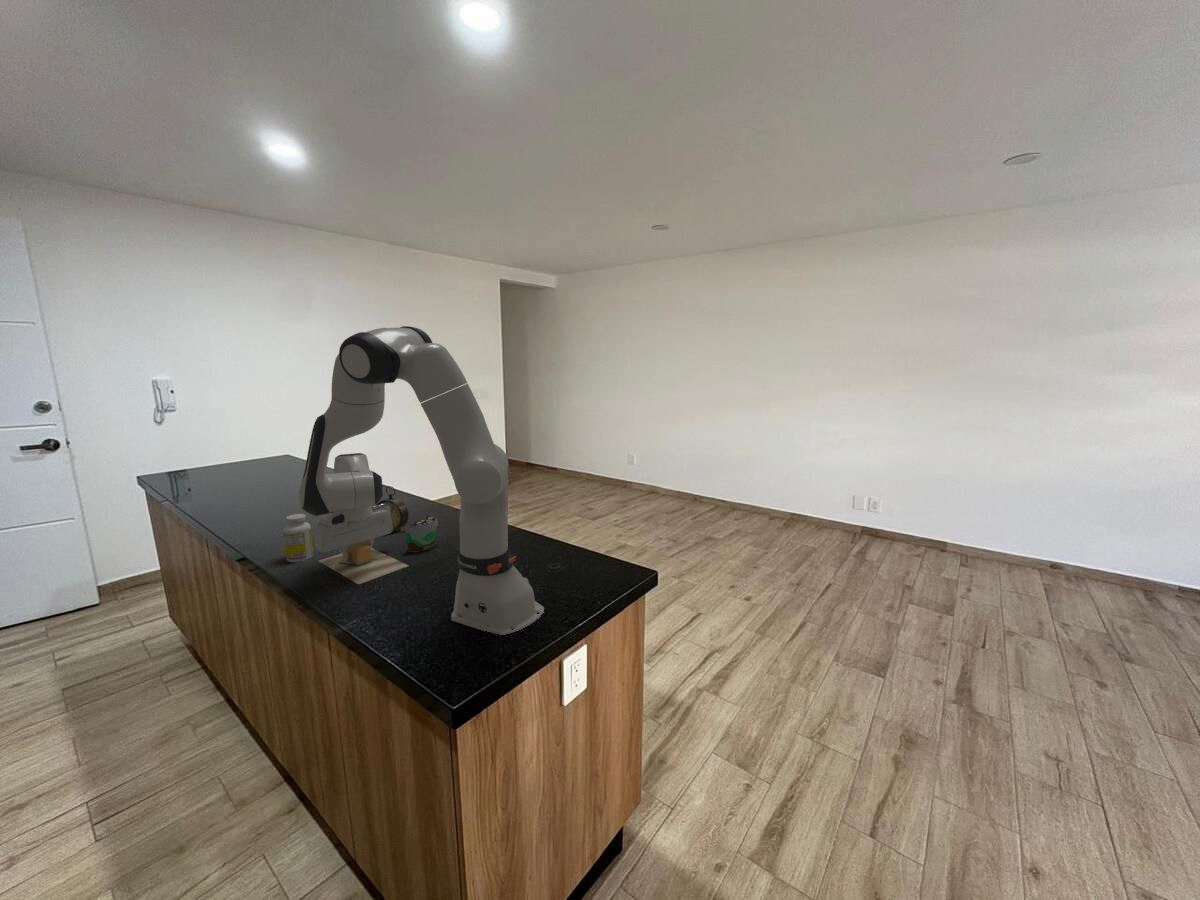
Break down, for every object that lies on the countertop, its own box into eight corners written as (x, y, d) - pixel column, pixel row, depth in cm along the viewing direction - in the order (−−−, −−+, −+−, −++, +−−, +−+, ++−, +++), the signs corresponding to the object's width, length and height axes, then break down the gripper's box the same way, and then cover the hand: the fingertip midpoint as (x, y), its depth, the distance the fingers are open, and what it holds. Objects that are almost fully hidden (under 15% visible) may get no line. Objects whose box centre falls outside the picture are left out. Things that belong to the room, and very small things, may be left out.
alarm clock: (373, 533, 152) (370, 486, 149) (384, 527, 157) (382, 482, 154) (401, 537, 150) (399, 490, 147) (412, 531, 155) (410, 485, 152)
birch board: (409, 570, 126) (409, 565, 126) (359, 589, 115) (358, 584, 115) (367, 550, 138) (367, 545, 138) (318, 565, 127) (317, 560, 127)
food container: (424, 560, 133) (423, 528, 131) (405, 558, 134) (404, 526, 132) (446, 544, 145) (445, 515, 143) (429, 542, 146) (428, 513, 144)
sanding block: (372, 560, 127) (371, 547, 127) (357, 565, 124) (356, 551, 123) (357, 553, 132) (356, 540, 131) (343, 557, 129) (342, 544, 128)
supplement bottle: (302, 552, 136) (298, 511, 133) (319, 555, 134) (315, 514, 131) (280, 561, 129) (276, 518, 127) (297, 564, 127) (293, 521, 125)
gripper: (384, 499, 135) (386, 543, 138) (309, 516, 119) (313, 565, 121) (396, 503, 132) (398, 548, 134) (320, 522, 115) (325, 572, 118)
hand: (357, 556), depth 128 cm, fingers closed on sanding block, 4 cm apart
